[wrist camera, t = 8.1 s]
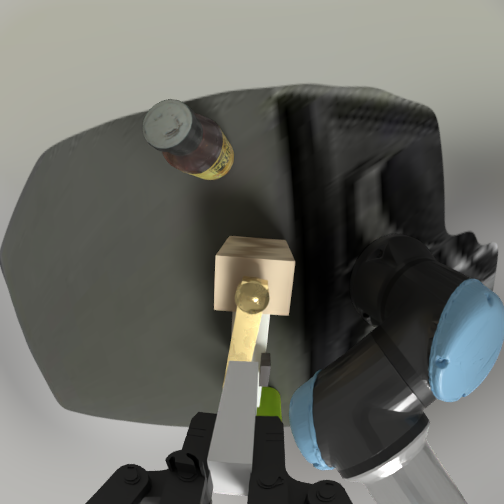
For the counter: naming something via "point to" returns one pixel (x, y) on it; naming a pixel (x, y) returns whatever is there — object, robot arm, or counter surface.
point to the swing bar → (247, 317)
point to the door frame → (264, 267)
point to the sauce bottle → (188, 140)
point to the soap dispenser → (269, 403)
